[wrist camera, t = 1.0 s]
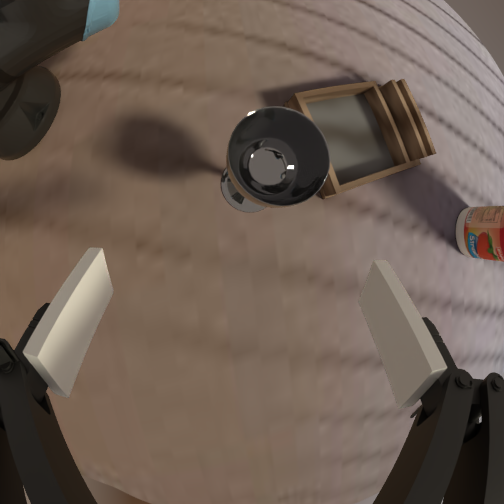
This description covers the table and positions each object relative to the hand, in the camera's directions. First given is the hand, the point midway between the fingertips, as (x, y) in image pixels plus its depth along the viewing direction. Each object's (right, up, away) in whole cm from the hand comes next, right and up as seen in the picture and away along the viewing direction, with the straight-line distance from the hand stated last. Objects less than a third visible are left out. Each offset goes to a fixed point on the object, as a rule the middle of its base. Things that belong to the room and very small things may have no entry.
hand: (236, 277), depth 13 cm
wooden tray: (+16, +18, +24) cm, 34 cm away
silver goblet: (0, +10, +22) cm, 24 cm away
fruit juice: (+42, +5, +29) cm, 51 cm away
